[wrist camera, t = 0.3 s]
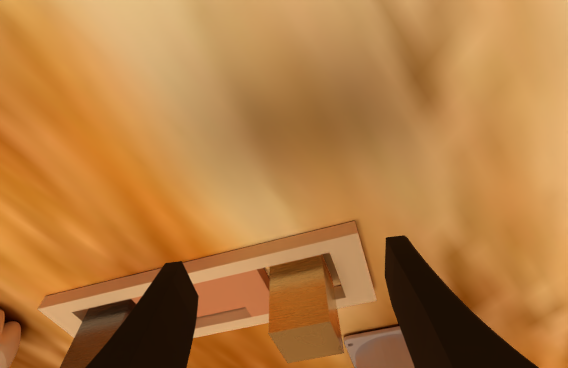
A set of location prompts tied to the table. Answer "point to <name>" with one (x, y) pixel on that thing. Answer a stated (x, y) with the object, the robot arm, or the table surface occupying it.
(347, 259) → the beige rectangular frame
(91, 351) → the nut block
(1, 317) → the water bottle
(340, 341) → the brass block
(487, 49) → the table surface
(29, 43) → the table surface
